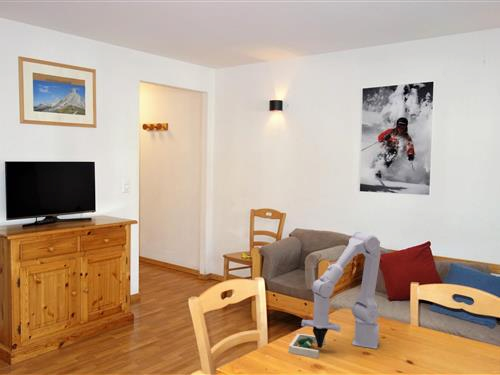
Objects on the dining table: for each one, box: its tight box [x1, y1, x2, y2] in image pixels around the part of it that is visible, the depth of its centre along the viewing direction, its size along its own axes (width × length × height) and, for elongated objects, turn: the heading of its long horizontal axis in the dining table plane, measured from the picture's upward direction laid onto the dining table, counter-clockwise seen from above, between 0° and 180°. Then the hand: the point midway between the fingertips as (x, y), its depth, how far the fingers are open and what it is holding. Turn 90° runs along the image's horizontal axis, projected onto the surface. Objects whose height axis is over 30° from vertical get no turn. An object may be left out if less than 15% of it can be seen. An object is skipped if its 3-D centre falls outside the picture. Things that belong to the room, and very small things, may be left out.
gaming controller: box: [297, 336, 314, 349], centre depth 173 cm, size 9×4×6 cm
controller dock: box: [288, 333, 326, 359], centre depth 173 cm, size 11×14×2 cm
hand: (320, 346), depth 171 cm, fingers closed
